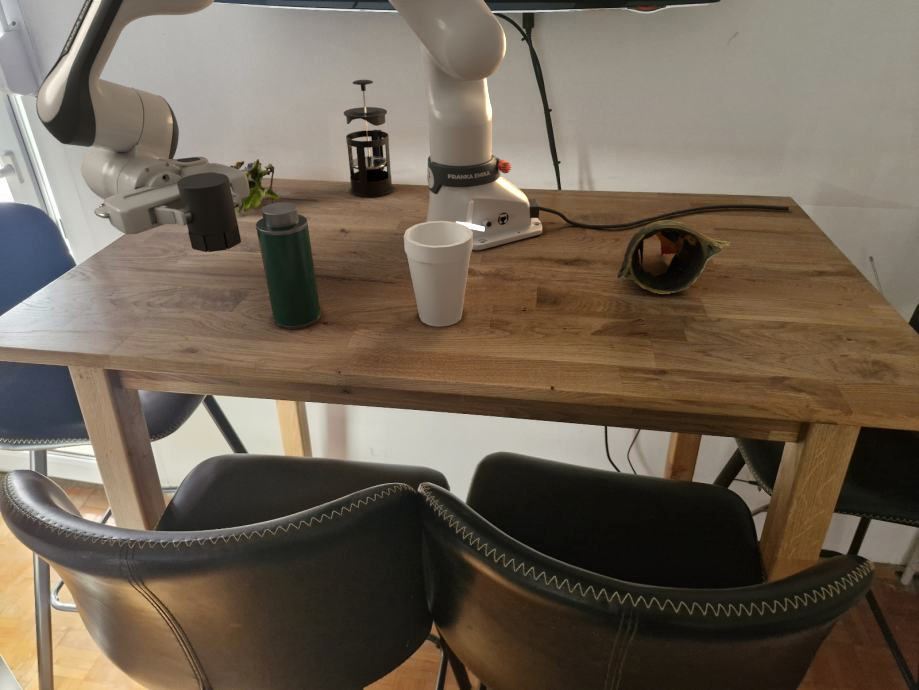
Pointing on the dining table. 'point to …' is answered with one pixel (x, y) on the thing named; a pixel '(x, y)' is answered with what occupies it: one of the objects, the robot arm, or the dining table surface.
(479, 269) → the dining table surface
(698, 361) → the dining table surface
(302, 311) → the thermos
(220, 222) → the lid
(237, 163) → the passion flower
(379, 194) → the french press
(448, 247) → the foam cup
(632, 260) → the pot
